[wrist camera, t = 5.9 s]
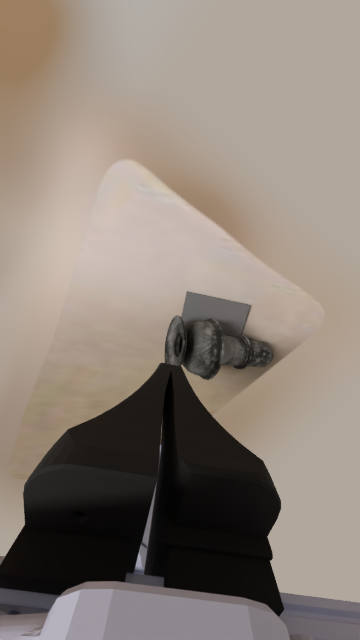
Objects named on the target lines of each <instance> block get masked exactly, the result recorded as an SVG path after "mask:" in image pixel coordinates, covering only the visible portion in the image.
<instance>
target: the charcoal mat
mask: <svg viewBox="0 0 360 640" xmlns="http://www.w3.org/2000/svg"><path fill="white" fill-rule="evenodd" d="M249 308H250V305H248V304H244V303H239V302H234V301H230V300H225V299H220V298H215V297H211V296H206V295H201V294H196V293H192V292H187V294H186V299H185V303H184V308H183V312H182V317H181V318H182V319H183V322H184V324H185V326H186V327H187V326H189V325H190V324H191V323H193V322H196V321H200V320H203V321H205V320H207V319H209V318H210V319H215V320H216V321H218V323H219V324H220V326H221V328H222V330H223V333H224V335H226V336H232V337H235V336H237V335H241V333H242V330H243V327H244V323H245V320H246V317H247V314H248V311H249Z"/></svg>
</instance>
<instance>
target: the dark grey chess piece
mask: <svg viewBox="0 0 360 640" xmlns="http://www.w3.org/2000/svg"><path fill="white" fill-rule="evenodd" d="M272 358H273V352H272V349H271V348H270V346H269V345H268V344H267V343H265V342H261V341H254V340H249V339H248V338H247V337H245V336H244V335H237V336H235V337H232V336H226V335H224V333H223V330H222V328H221V326H220V324H219V323H218V321H216V320H215V319H210V318H209V319H207V320H205V321H203V320H200V321H196V322H193V323H191V324H190V325H189V326H187V327H186V326H185V324H184V322H183V319H182V318H181V317H180V316H175V317H174V318H173V320H172V321H171V323H170V326H169V329H168V332H167V337H166V343H165V363H166V364H171V365H176V366H181V365H182V364H183V366H184V367H185V368H186V369H187V370H188V371H189V372H191V373H193V374H195V375H198V376H200V377H202V378H203V379H206V380H209V379H212V378H213V377H214V376H215V375H216V374H217V373H218V371H219V369H220V368H221V365H232V366H234V367H235V368H237V369H244V368H245V367H247V366H253V367H265V366H267V365H268V364H269V363H270V362H271V361H272Z"/></svg>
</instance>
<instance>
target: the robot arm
mask: <svg viewBox="0 0 360 640" xmlns="http://www.w3.org/2000/svg"><path fill="white" fill-rule="evenodd" d="M162 415H163V416H162ZM161 427H162V437H161ZM160 442H161V444H160ZM23 498H24V514H25V525H24V527H23V529H22V530H21V532H20V534H19V535H18V537H17V539H16V540H15V542H14V543H13V545H12V547H11V548H10V550H9V551H8V553H7V555H6V556H5V557H4V556H0V640H360V603H357V602H349V601H342V600H334V599H326V598H319V597H311V596H303V595H295V594H288V593H280V592H279V590H278V587H277V583H276V580H275V577H274V573H273V570H272V567H271V563H270V560H272V558H273V555H272V550H271V547H270V544H269V541H268V538H267V536H268V534H269V532H270V530H271V529H272V527H273V525H274V524H275V522H276V520H277V518H278V515H279V512H280V510H281V500H280V497H279V495H278V493H277V491H276V488H275V486H274V483H273V481H272V479H271V476H270V474H269V472H268V470H267V468H266V466H265V464H264V462H263V461H262V460H261V459H260V458H258V457H257V456H256V455H255V454H253V453H252V452H251V451H249V450H248V449H247V448H245V447H244V446H243V445H241V443H239V442H238V441H237V440H236V439H235V438H233V436H231V435H230V434H229V433H228V432H227V431H226V430H225V429H224V428H223V427H222V426H221V425H220V424H219V423H218V422H217V421H216V420H215V419H214V418H213V417H212V415H211V414H210V413H209V412H208V411H207V409H206V408H205V407H204V406H203V404H202V403H201V402H200V400H199V399H198V397H197V396H196V394H195V393H194V391H193V389H192V387H191V386H190V384H189V382H188V380H187V378H186V376H185V374H184V371H183V369H182V367H181V366H176V365H171V364H166V363H160V364H159V366H158V368H157V369H156V371H155V372H154V373H153V375H152V376H151V377H150V378H149V379H148V380H147V381H146V382H145V383H144V384H143V385H142V386H141V387H140V388H139V389H138V390H137V391H136V392H134V393H133V394H132V395H131V396H129V397H128V398H127V399H125V400H124V401H122V402H121V403H120V404H118V405H116V406H115V407H113V408H112V409H110V410H108V411H106V412H104V413H103V414H101V415H99V416H97V417H95V418H93V419H91V420H89V421H86V422H84V423H82V424H79V425H77V426H75V427H72V428H70V429H68V430H67V431H66V432H65V433H64V434H63V435H62V436H61V438H60V439H59V440H58V441H57V442H56V443H55V444H54V445H53V446H52V448H51V449H50V450H49V451H48V452H47V454H46V455H45V456H44V458H43V459H42V460H41V462H40V463H39V465H38V466H37V467H36V469H35V470H34V471H33V473H32V474H31V476H30V477H29V479H28V480H27V482H26V483H25V485H24V492H23Z"/></svg>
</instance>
